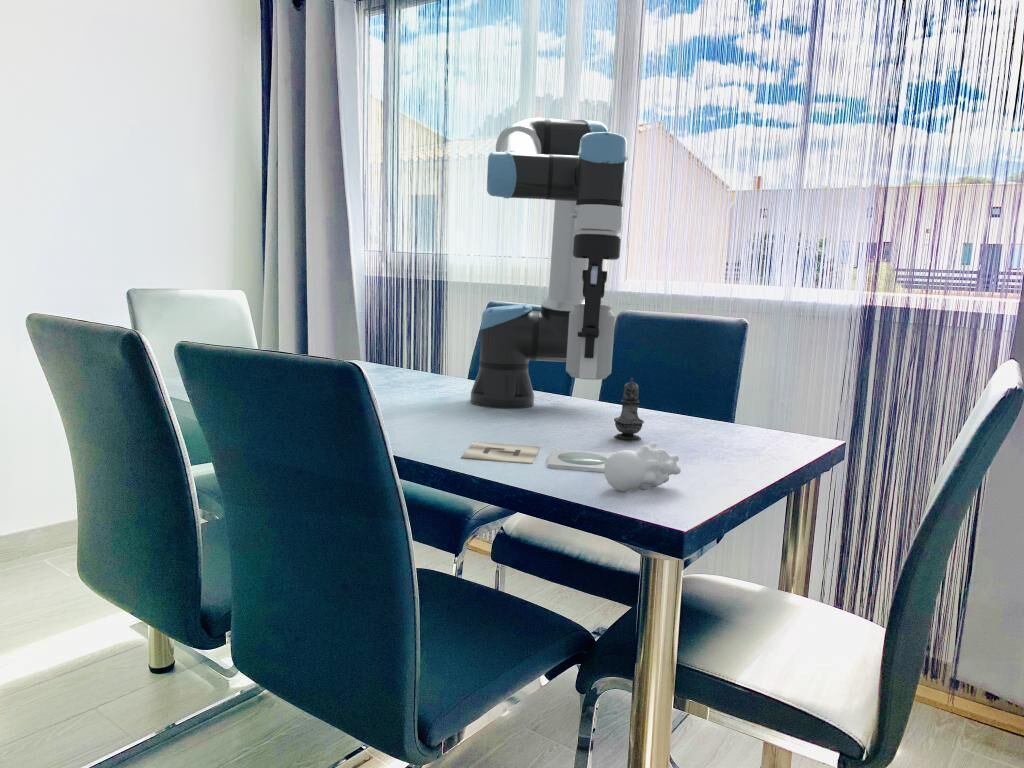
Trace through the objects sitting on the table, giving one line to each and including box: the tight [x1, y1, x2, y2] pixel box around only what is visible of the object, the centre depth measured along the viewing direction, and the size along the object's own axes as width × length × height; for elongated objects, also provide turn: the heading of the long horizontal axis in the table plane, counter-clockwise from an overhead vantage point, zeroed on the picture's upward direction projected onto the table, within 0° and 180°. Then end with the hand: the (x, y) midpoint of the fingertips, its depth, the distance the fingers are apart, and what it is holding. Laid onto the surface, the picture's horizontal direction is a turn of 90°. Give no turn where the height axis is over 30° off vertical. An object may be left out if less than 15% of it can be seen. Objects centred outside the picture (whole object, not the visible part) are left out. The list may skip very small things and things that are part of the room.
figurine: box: [603, 441, 682, 492], centre depth 112 cm, size 7×7×12 cm
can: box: [565, 304, 616, 381], centre depth 123 cm, size 8×8×12 cm
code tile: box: [460, 441, 540, 465], centre depth 130 cm, size 12×12×1 cm
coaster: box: [546, 448, 615, 473], centre depth 126 cm, size 11×11×1 cm
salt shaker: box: [613, 377, 645, 442], centre depth 146 cm, size 6×6×12 cm
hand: (588, 374), depth 124 cm, fingers closed on can, 7 cm apart
